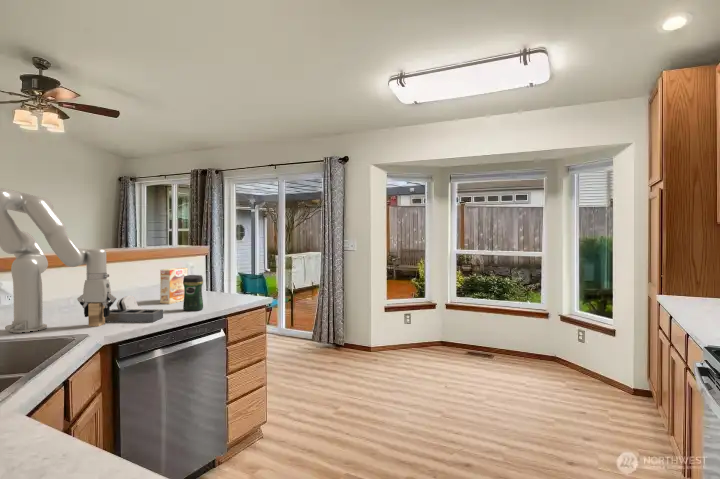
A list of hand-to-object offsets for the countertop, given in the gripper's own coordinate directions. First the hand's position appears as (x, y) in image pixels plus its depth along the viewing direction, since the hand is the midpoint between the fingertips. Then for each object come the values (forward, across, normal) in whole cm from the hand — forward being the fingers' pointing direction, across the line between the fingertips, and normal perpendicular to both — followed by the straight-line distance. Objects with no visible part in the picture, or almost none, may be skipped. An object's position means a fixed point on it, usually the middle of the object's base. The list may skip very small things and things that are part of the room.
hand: (96, 316), depth 186 cm
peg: (+4, 0, 0) cm, 4 cm away
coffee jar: (+4, -29, -36) cm, 46 cm away
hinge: (+4, -1, -25) cm, 25 cm away
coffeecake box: (+4, -9, -60) cm, 61 cm away
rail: (+4, -10, -11) cm, 15 cm away
